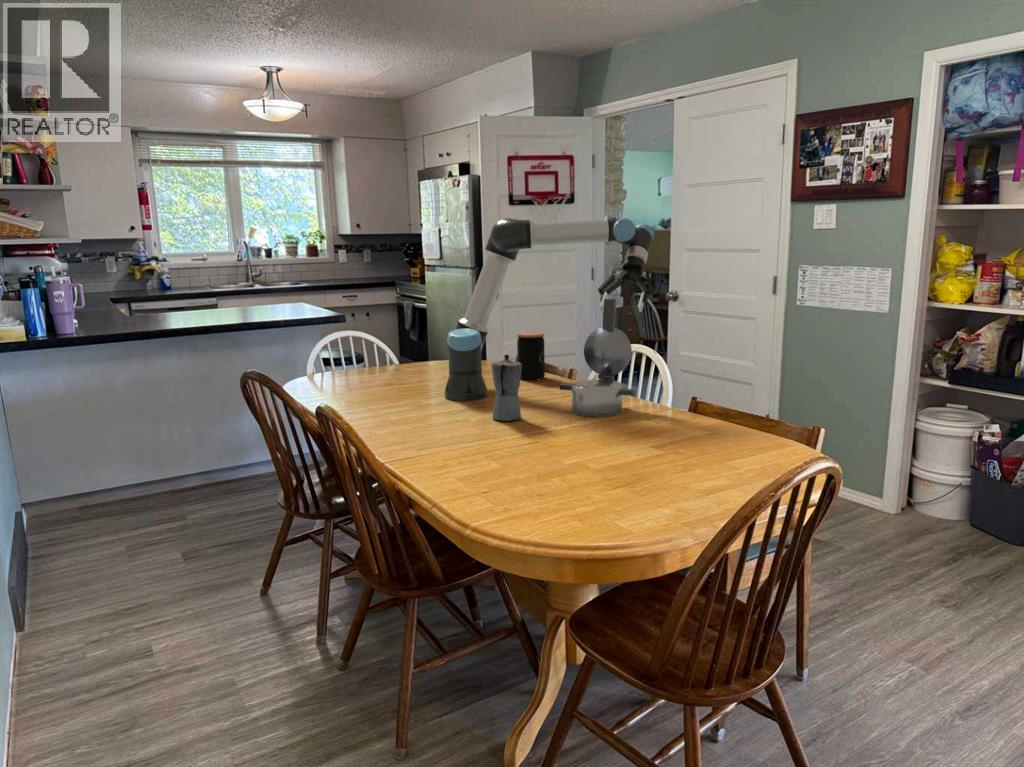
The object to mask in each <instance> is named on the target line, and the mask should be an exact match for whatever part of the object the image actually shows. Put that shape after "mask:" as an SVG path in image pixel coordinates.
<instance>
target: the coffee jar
mask: <svg viewBox="0 0 1024 767" xmlns="http://www.w3.org/2000/svg"><path fill="white" fill-rule="evenodd" d="M516 336H517V340H516V341H517V342H516V344H517V346H516V348H517V351H516V352H517V353H516V354H517V362H519V363H521V364H522V370H521V378H520V381H526V380H536V381H539V380H538V379H541V380H543V379H544V377H545V375H546V370H545V368H546V366H545V365H546V364H545V362H546V361H545V359H546V358H545V357H546V356H545V353H546V352H545V339H544V336H545V333H544V332H543V331H522V332H518V333H516ZM542 378H543V379H542Z"/></svg>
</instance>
